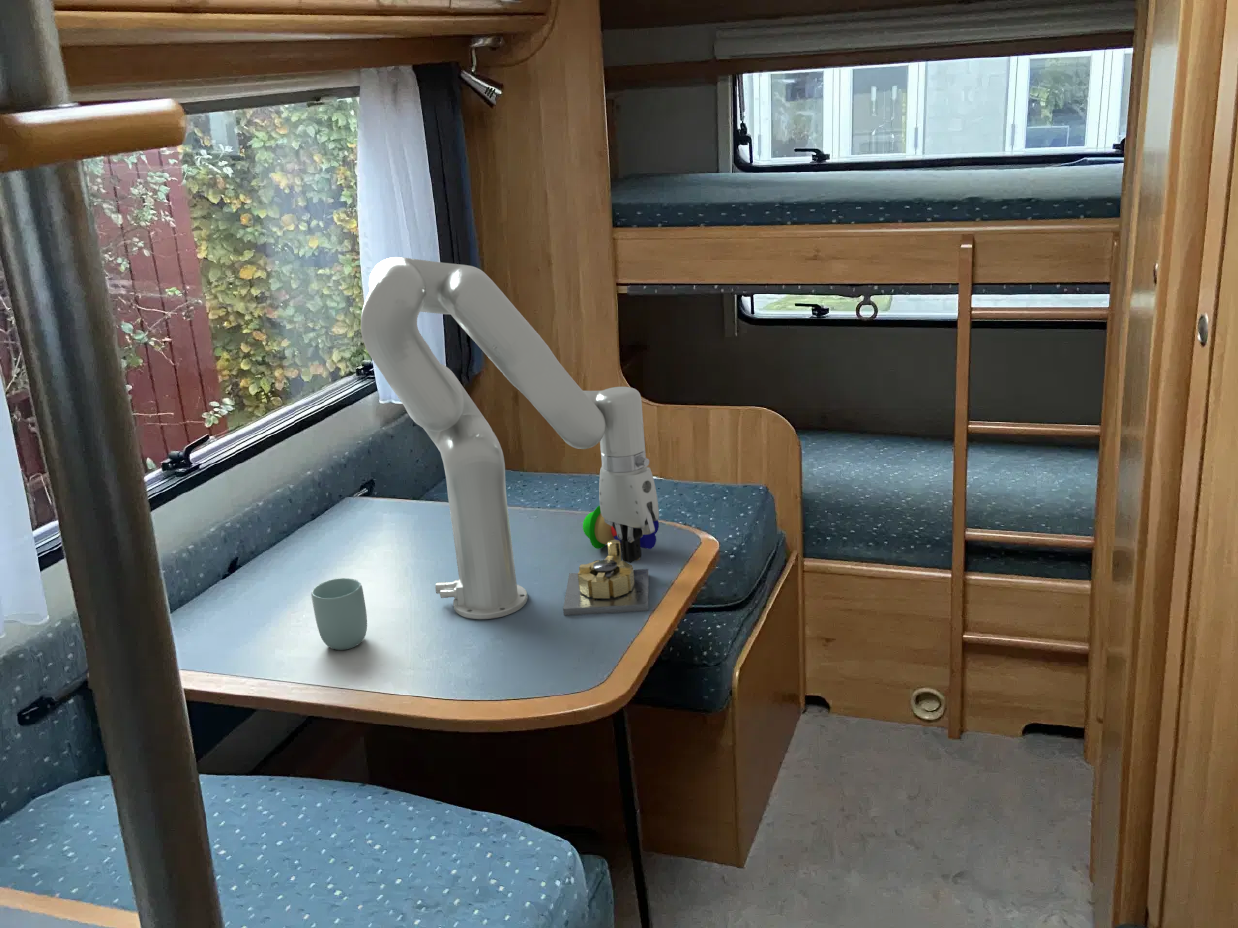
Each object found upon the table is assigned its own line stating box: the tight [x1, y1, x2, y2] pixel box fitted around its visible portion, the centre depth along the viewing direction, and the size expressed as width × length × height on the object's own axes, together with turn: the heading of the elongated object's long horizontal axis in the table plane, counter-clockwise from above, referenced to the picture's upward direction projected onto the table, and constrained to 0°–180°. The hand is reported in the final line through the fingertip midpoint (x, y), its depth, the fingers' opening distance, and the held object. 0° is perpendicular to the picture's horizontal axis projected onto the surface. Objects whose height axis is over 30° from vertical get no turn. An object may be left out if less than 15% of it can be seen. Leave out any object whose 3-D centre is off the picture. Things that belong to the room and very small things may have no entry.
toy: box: [582, 504, 660, 562], centre depth 208 cm, size 12×9×15 cm
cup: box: [310, 577, 368, 651], centre depth 180 cm, size 8×8×10 cm
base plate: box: [562, 559, 650, 616], centre depth 191 cm, size 14×15×6 cm
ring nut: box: [577, 540, 634, 598], centre depth 192 cm, size 13×9×5 cm
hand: (632, 559), depth 196 cm, fingers closed
